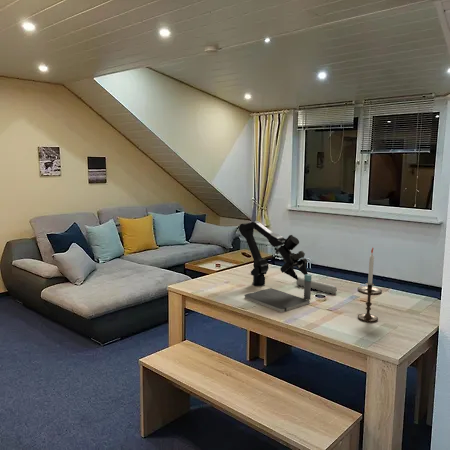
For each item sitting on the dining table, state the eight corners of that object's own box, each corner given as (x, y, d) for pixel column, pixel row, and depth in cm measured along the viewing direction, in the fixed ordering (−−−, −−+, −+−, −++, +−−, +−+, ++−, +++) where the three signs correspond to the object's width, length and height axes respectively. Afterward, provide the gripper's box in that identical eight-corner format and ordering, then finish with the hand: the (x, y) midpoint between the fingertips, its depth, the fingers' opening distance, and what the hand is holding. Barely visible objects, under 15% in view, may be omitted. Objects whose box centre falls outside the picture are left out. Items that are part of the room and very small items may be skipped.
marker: (304, 299, 227) (305, 276, 225) (302, 297, 230) (303, 274, 228) (311, 299, 227) (312, 275, 225) (309, 297, 231) (310, 274, 229)
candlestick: (381, 324, 193) (387, 249, 188) (357, 322, 195) (361, 248, 190) (377, 315, 203) (382, 244, 198) (354, 314, 205) (358, 243, 200)
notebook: (309, 304, 220) (270, 291, 241) (309, 300, 220) (271, 287, 241) (281, 313, 206) (243, 298, 228) (281, 309, 206) (243, 294, 227)
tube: (339, 286, 238) (301, 277, 255) (335, 285, 235) (297, 276, 251) (337, 295, 238) (299, 286, 255) (333, 294, 234) (295, 285, 251)
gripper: (285, 248, 224) (301, 272, 218) (305, 244, 237) (321, 266, 231) (273, 260, 231) (289, 284, 225) (293, 255, 244) (309, 277, 238)
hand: (302, 277), depth 229 cm, fingers open, 9 cm apart
